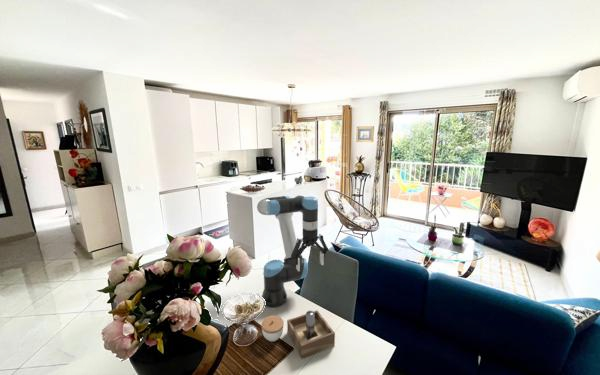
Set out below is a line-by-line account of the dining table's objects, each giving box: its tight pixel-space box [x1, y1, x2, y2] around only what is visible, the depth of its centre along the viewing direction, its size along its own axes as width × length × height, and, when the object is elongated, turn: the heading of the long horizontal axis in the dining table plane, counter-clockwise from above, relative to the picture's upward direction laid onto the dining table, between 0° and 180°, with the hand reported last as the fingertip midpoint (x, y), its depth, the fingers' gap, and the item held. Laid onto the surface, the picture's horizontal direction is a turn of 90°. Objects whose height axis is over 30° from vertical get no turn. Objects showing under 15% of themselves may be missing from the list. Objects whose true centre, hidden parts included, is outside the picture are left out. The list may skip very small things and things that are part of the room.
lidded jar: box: [260, 315, 285, 343], centre depth 122 cm, size 11×11×9 cm
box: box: [286, 310, 336, 360], centre depth 120 cm, size 17×17×7 cm
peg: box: [305, 310, 315, 340], centre depth 120 cm, size 4×4×14 cm
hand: (310, 267), depth 128 cm, fingers open, 13 cm apart
